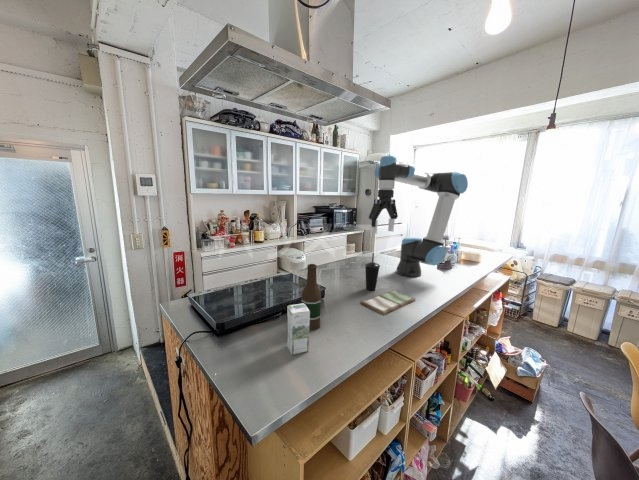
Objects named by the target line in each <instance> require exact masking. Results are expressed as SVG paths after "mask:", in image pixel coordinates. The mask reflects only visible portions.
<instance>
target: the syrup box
mask: <svg viewBox="0 0 639 480" xmlns="http://www.w3.org/2000/svg"><path fill="white" fill-rule="evenodd" d="M286 311H287V313H286V314H287V315H286V316H287V317H286V318H287V320H286V322H287V324H286V327H287V328H286V346H287V348H288V350H289V352H290V354H291V356H295V355H299V354H304V353H307V352H309V349H310V348H309V346H310V344H309V343H310V330H309V323H310V311H309V309H308V308H307V306H306V305H305V304H304V303H302V304H301V303H297V304H288V305H287V310H286Z"/></svg>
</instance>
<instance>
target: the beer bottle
mask: <svg viewBox="0 0 639 480" xmlns="http://www.w3.org/2000/svg"><path fill="white" fill-rule="evenodd" d="M317 267H318V266H317V265H316V264H314V263H310V264H307V267H306V269H307V272H306V273H307V275H306V285H305V286H304V287H303V290H302V293H301V297H300V298H301V299H300V301H301V302H300V304H302V303H304V304H305V305H306V306H307V308H308V309H309V311H310V323H309V331H315V330H316V331H317V330H318V329H320V328H321V316H322V315H321V313H322V311H321V310H322V307H321V306H322V291H321V289H320V287H319V285H318V283H317V269H318V268H317Z"/></svg>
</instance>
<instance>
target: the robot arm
mask: <svg viewBox="0 0 639 480" xmlns="http://www.w3.org/2000/svg"><path fill="white" fill-rule="evenodd" d="M397 160H398V159H397V157H396V156H395V155H384V156H381V157H380V161H379V165H376V167H375V168H374V171H373V173H374V177H375V178H376V179H378V190H377V197H378V198H376V199H374V201H373V206H372V208H371V211H370V212H369V216H368V219H369V220H371V234H374V235H375V234H376V235H377V234H378V218H379V216H380V214H381V213H382V211H383V210H384V209H386V211H387V213H388V216H389V218H388V230H387V231H388V232H394V230H395V229H394V227H395V220H397V219H398V217H399V215H398V211H397V210H398V209H397V206H396V199H393V198H394V194H395V193H394V192H395V191H394V189H395V182H398V183H401V184H402V183H403V184H407V185H411V186H415V187H418V188H419V189H420V190H424V191H429V192H431V193H436V194H437V196H438V200H437V201H436V205H435V209H434V211H433V213H432V214H433V215H432V218H431V221H430V225H429V227H428V231H427V233H426V236H425V237H422V238H421V237H405V238H403V239H402V240H401V247H400V259H399V262H398V264H397V267H396V271H395V273H396V274H398V275H399V276H403V277H408V278H418V277H421V276H422V268H421V265H420V262H422V263H424V264H426V265H427V264H428V265H432V266H437V265H439V264H441V263H442V262H443V260H444V259H445V258H446V253H447V252H446V251H447V249H446V247H445V246H444V245H445V243H444V240H443V238H444V235H445V233H446V230H447V227H448V224H449V221H450V217H451V214H452V211H453V207H454V204H455V202H456V200H458V199H459V198H460V195H461V194H464V193H465V192H466V191H467V189H468V184H469V182H468V177H467V175H466V174H465V173H463V172H462V171H450V172H437V173H427V172H424V173H421V172H418V171H416V167H415V165H414V164H413V163H410V162H406V161H405V162H404V161H403V162H402V161H397Z"/></svg>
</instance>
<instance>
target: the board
mask: <svg viewBox="0 0 639 480" xmlns="http://www.w3.org/2000/svg"><path fill="white" fill-rule="evenodd" d="M413 302H416V298H414V297H412V296H410V295H407V294H404V293H401V292H398V291H396V290H393V289H392V290H389V291H387V292H384V293H381V294H379V295H376V296H373V297H370V298H367V299H365V300H363V301H361V302H360V304H361V305H362V306H364V307H366V308H369V309H371V310H373V311H375V312H376V313H379V314H381V315H384V316H385V315H387V314H390V313H392V312H394V311H396V310H398V309H401V308H403V307H405V306H408V305H409V304H412V303H413Z"/></svg>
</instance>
